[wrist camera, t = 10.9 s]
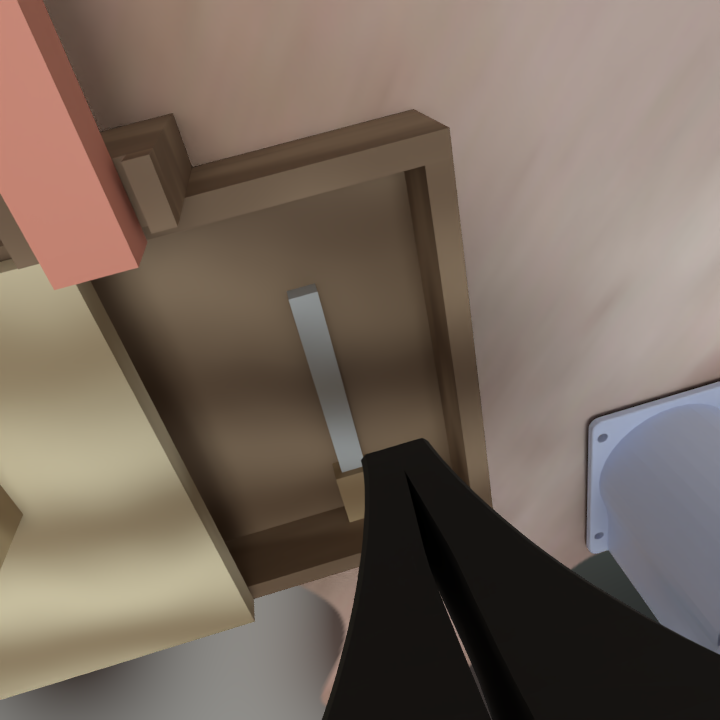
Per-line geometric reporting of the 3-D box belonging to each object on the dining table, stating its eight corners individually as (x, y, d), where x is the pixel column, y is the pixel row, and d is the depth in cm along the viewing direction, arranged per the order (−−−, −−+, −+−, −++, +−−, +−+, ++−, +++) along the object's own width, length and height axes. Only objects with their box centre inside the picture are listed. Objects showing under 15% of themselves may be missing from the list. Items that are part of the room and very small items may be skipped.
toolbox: (465, 469, 27) (518, 572, 22) (86, 582, 26) (52, 717, 21) (405, 53, 17) (476, 69, 12) (-199, 208, 16) (-385, 292, 11)
